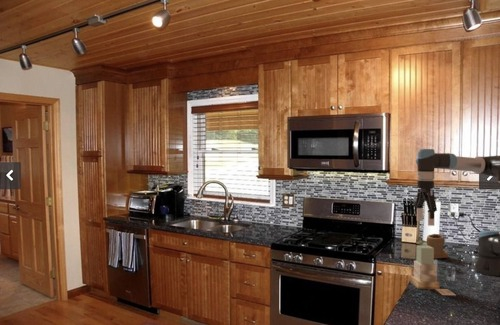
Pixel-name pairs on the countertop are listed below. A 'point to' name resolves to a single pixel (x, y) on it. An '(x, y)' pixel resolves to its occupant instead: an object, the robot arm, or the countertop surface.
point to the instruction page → (445, 292)
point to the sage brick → (425, 255)
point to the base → (424, 284)
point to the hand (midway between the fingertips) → (425, 223)
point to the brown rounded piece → (437, 245)
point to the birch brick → (425, 272)
